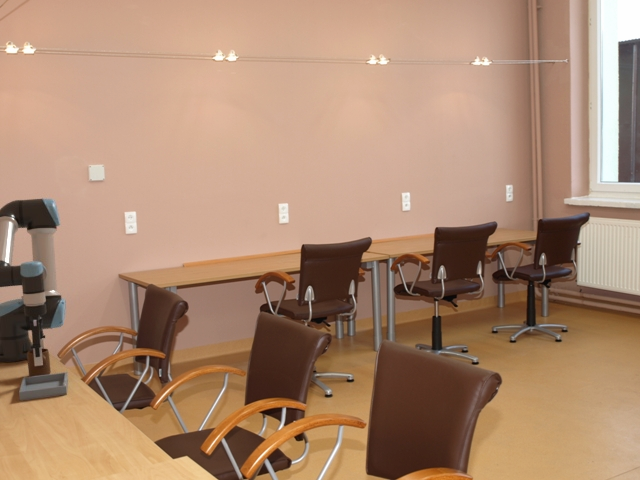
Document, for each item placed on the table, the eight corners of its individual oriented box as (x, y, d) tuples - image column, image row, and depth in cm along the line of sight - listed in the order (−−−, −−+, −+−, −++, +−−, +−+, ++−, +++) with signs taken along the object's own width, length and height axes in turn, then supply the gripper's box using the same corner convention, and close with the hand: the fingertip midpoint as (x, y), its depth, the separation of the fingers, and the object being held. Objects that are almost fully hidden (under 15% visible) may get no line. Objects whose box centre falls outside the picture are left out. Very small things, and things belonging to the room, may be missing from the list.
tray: (24, 385, 255) (23, 377, 255) (67, 380, 260) (67, 372, 259) (19, 400, 239) (19, 392, 239) (66, 394, 244) (65, 386, 243)
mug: (57, 378, 262) (54, 353, 261) (35, 383, 258) (33, 357, 257) (47, 371, 272) (45, 347, 271) (26, 375, 268) (24, 351, 266)
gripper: (26, 299, 272) (31, 354, 274) (20, 311, 249) (26, 370, 251) (47, 297, 275) (52, 351, 277) (43, 308, 251) (49, 368, 253)
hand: (40, 360), depth 264 cm, fingers open, 13 cm apart
